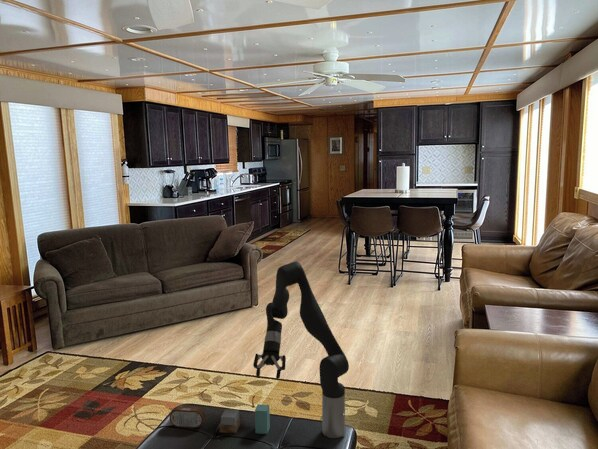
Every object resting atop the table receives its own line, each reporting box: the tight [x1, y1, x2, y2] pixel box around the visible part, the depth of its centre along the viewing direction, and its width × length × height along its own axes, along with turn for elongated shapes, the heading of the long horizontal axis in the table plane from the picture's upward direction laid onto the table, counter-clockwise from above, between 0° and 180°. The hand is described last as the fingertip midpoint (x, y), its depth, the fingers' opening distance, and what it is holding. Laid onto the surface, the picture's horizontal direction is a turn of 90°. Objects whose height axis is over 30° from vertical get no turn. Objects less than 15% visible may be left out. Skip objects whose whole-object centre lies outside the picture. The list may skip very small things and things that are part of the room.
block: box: [254, 403, 271, 435], centre depth 191 cm, size 5×5×10 cm
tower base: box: [219, 416, 241, 434], centre depth 193 cm, size 7×7×4 cm
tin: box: [169, 405, 206, 429], centre depth 194 cm, size 15×3×8 cm, turn 84°
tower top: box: [220, 408, 240, 426], centre depth 192 cm, size 6×6×4 cm
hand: (267, 378), depth 201 cm, fingers open, 8 cm apart
